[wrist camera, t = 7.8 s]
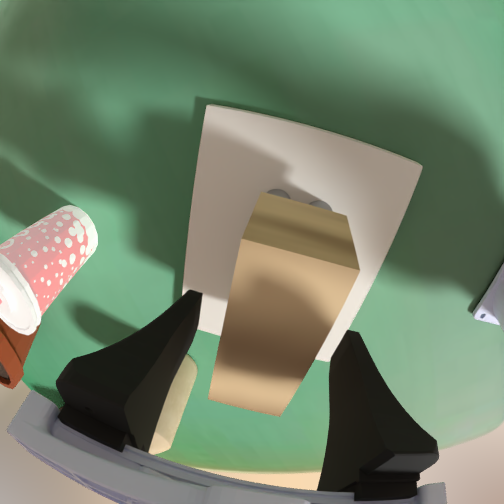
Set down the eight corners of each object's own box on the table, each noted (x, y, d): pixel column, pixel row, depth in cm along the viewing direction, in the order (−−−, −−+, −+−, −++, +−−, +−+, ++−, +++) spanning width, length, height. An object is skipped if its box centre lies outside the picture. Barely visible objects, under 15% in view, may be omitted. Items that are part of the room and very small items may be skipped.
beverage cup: (98, 197, 20) (-50, 323, 8) (112, 268, 23) (7, 404, 11) (43, 194, 21) (-85, 293, 9) (59, 258, 24) (-41, 366, 12)
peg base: (417, 162, 15) (444, 183, 12) (328, 352, 24) (328, 392, 20) (212, 104, 16) (186, 109, 12) (184, 315, 24) (166, 351, 21)
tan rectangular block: (261, 191, 14) (241, 238, 10) (346, 215, 14) (360, 270, 10) (226, 340, 19) (207, 398, 15) (287, 356, 19) (280, 416, 15)
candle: (137, 339, 27) (90, 424, 18) (189, 344, 26) (149, 442, 17) (156, 375, 30) (120, 454, 21) (204, 381, 29) (174, 469, 20)
